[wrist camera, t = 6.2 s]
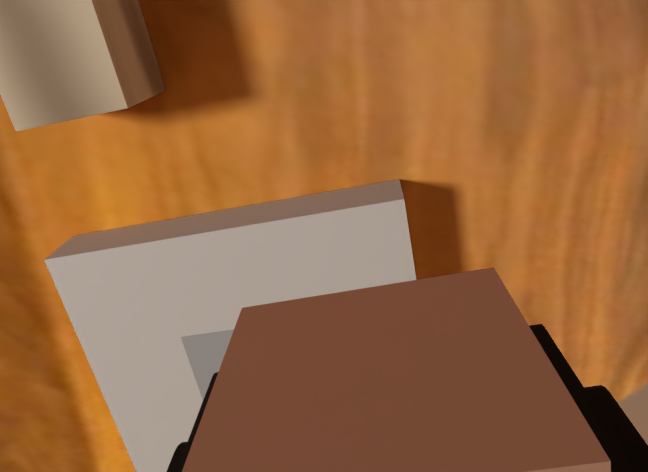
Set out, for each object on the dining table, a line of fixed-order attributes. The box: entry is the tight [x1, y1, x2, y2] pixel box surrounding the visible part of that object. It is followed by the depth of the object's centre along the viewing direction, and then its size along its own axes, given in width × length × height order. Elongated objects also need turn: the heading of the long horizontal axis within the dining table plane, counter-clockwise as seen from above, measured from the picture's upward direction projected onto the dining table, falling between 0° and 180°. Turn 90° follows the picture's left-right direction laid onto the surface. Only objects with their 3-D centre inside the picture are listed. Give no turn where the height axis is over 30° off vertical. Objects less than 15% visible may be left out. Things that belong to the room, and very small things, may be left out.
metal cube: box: [0, 0, 166, 131], centre depth 24 cm, size 5×5×5 cm
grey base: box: [45, 180, 416, 472], centre depth 31 cm, size 18×18×3 cm
